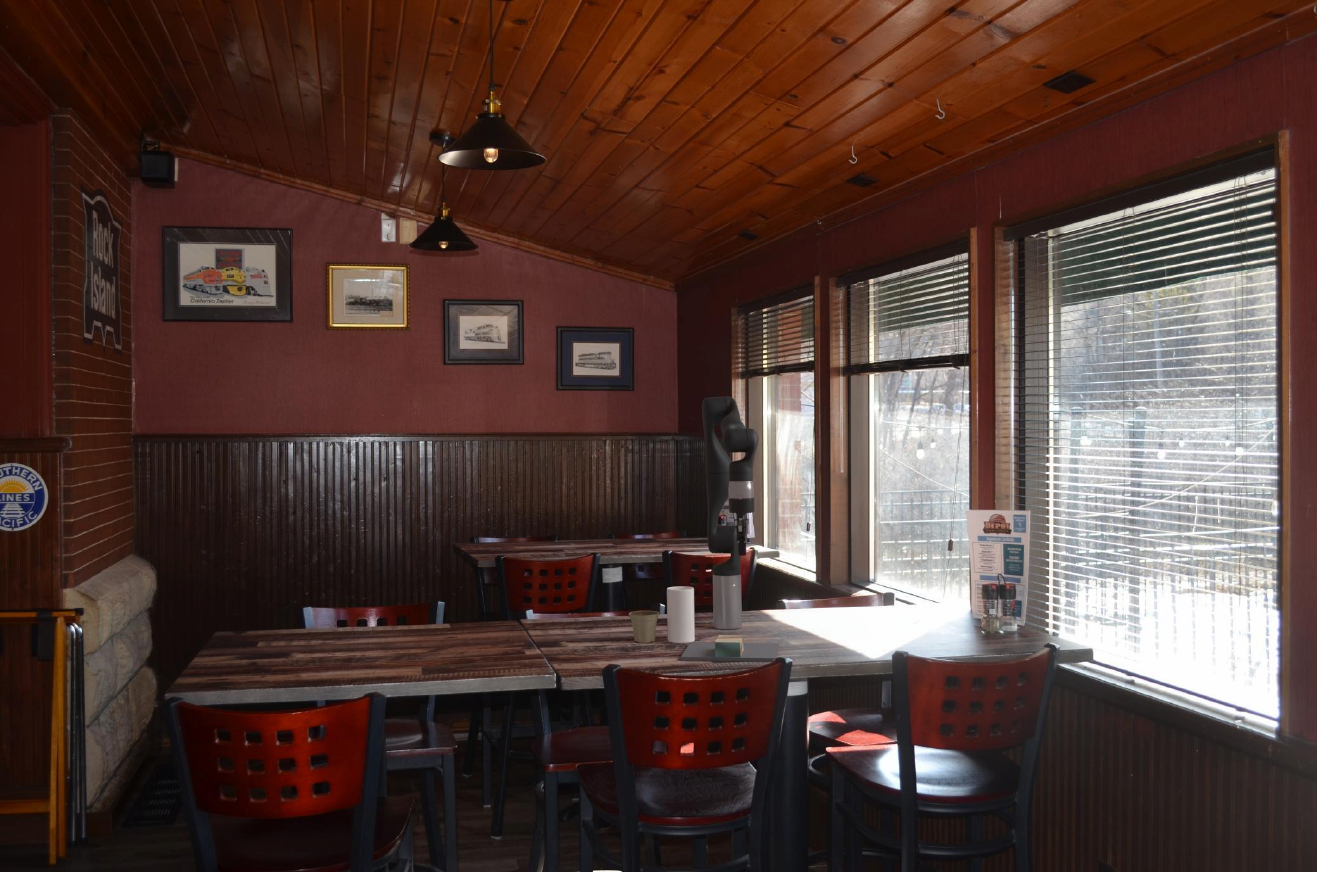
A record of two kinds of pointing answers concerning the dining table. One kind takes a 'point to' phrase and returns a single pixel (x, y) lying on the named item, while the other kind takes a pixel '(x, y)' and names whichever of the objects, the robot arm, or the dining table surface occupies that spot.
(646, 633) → the flower pot
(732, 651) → the block
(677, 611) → the white cylinder
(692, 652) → the mat
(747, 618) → the dining table surface
